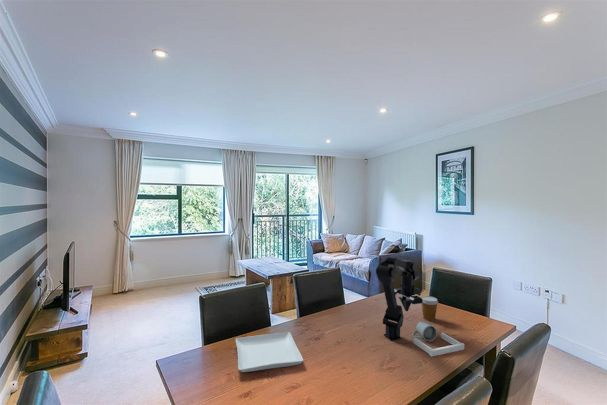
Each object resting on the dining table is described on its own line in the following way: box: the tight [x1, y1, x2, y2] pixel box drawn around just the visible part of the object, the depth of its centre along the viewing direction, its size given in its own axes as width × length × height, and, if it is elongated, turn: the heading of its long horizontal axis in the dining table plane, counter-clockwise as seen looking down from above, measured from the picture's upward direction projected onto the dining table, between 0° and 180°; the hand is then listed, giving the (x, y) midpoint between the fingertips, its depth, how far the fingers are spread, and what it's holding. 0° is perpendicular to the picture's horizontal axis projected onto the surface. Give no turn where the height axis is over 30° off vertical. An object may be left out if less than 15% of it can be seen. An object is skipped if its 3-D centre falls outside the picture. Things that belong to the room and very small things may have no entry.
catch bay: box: [413, 332, 465, 357], centre depth 141 cm, size 19×13×2 cm, turn 109°
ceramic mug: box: [411, 320, 438, 342], centre depth 150 cm, size 11×8×8 cm
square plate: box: [235, 331, 304, 373], centre depth 133 cm, size 27×27×4 cm
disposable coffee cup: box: [420, 295, 439, 322], centre depth 173 cm, size 10×10×12 cm
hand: (406, 311), depth 163 cm, fingers closed
